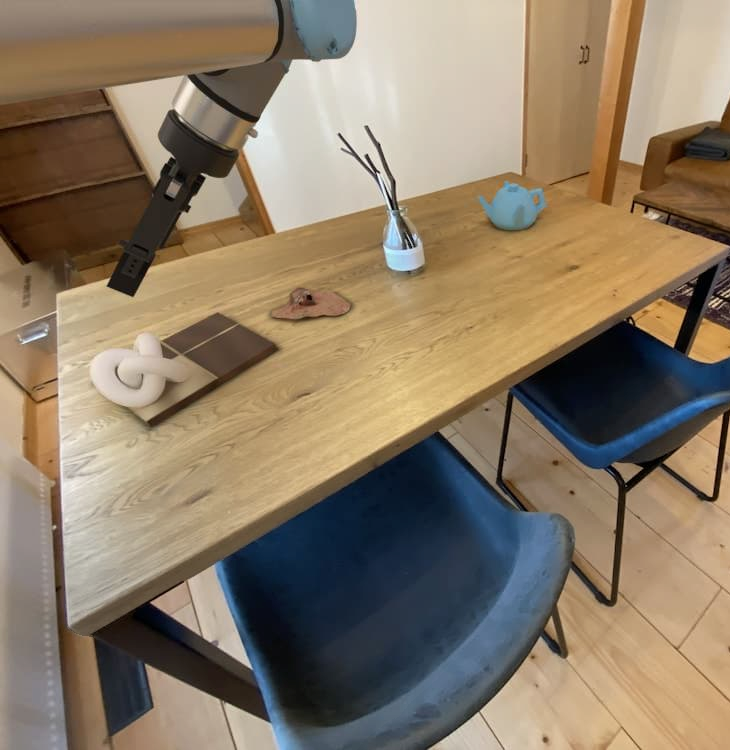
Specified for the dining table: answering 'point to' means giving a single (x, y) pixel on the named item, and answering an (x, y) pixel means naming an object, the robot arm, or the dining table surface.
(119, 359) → the white knot sculpture
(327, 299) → the clay slab
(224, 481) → the dining table surface
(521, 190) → the teapot
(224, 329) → the board
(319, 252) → the dining table surface
